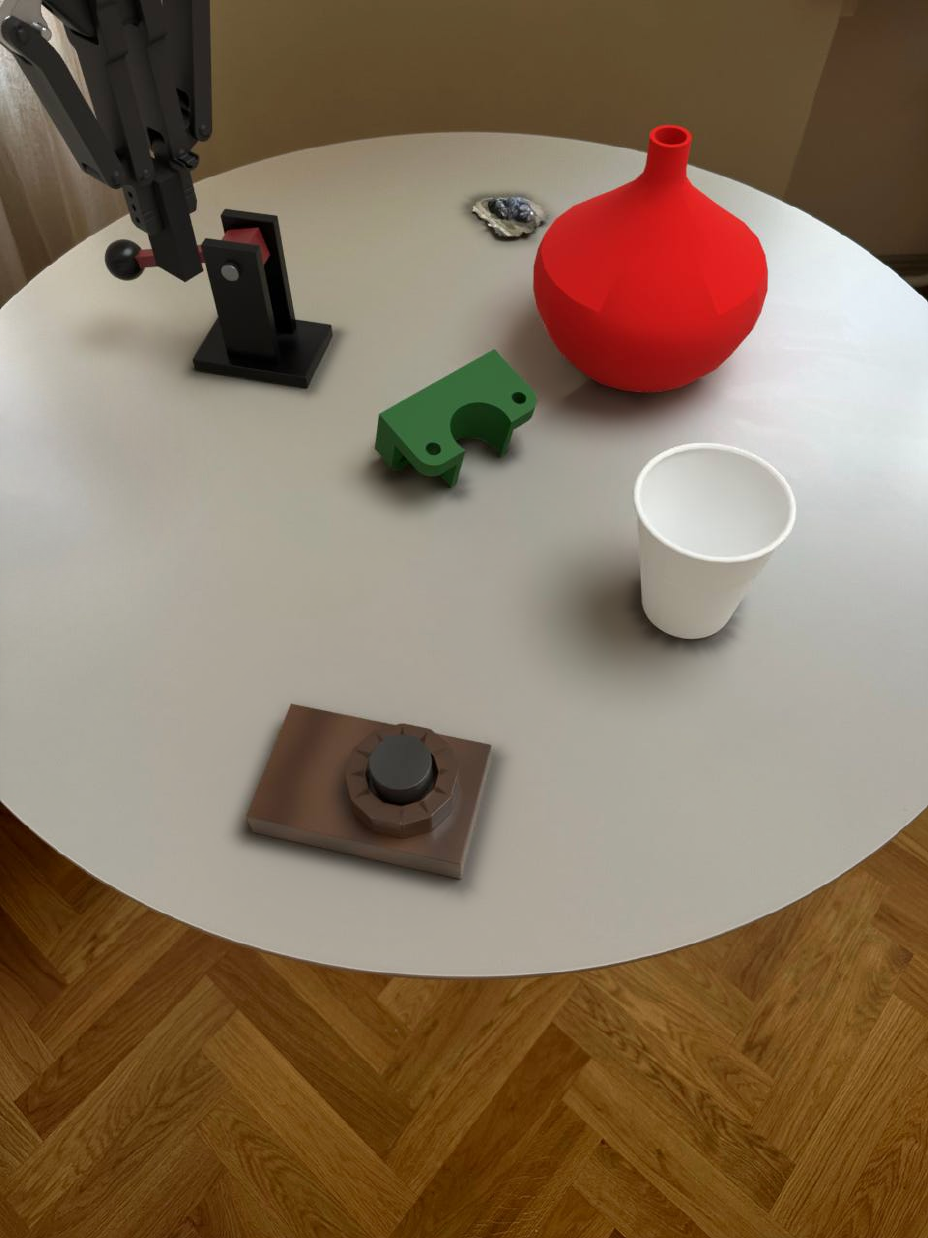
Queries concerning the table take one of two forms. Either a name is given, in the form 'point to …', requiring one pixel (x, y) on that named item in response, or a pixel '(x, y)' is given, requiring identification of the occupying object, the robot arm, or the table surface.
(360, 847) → the button block
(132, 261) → the ball knob lever
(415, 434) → the clamp
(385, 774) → the button
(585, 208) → the vase
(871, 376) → the table surface
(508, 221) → the grey flat irregular piece
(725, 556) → the cup
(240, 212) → the black bracket
